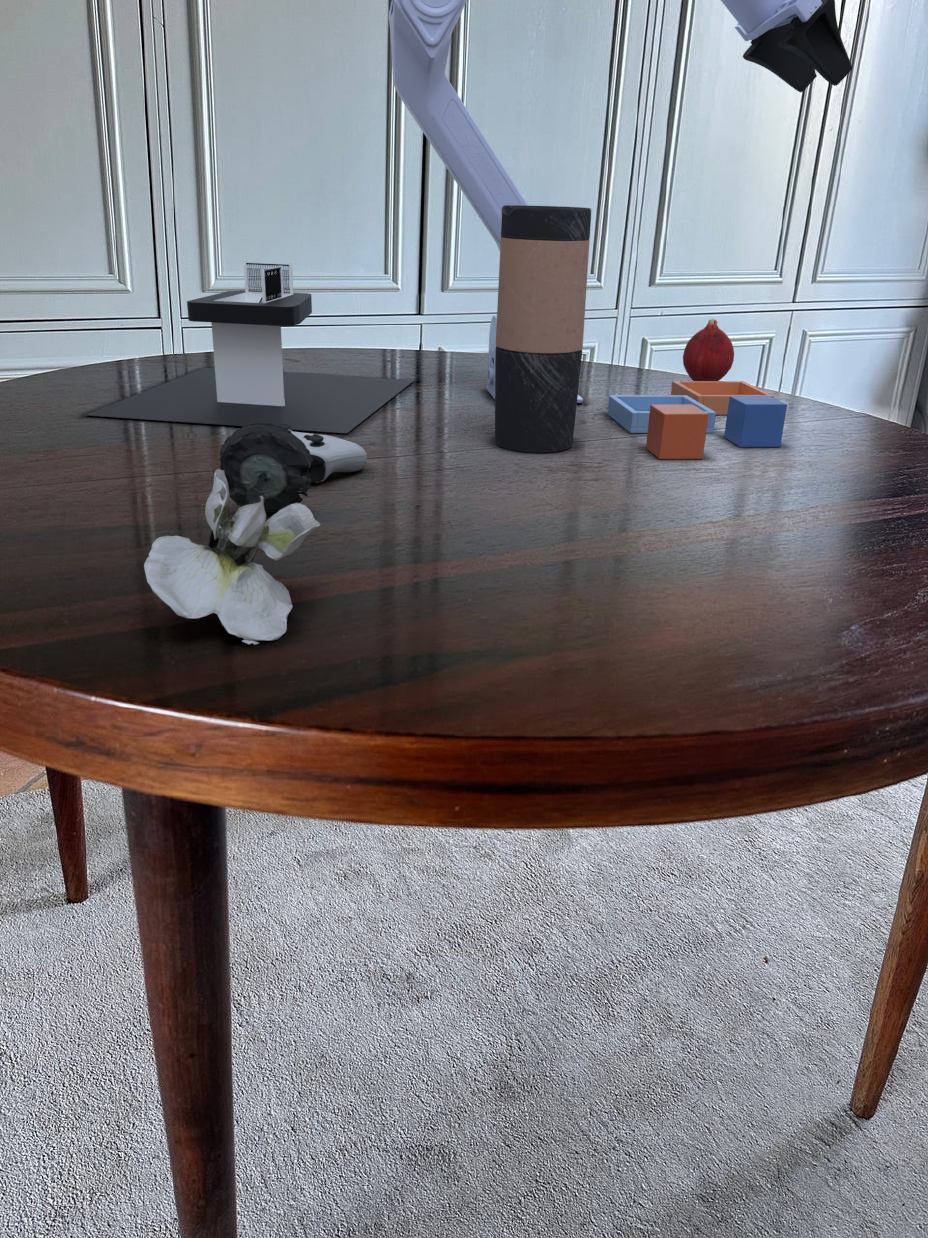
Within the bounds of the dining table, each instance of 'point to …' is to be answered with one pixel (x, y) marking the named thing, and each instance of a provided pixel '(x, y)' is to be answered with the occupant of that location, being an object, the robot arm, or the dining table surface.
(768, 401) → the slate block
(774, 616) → the dining table surface
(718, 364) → the onion
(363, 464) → the game controller
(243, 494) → the artificial flower
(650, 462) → the dining table surface
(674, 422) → the rust block
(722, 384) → the terracotta tray
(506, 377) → the travel mug
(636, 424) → the slate tray
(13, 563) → the dining table surface
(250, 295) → the black-topped pedestal
